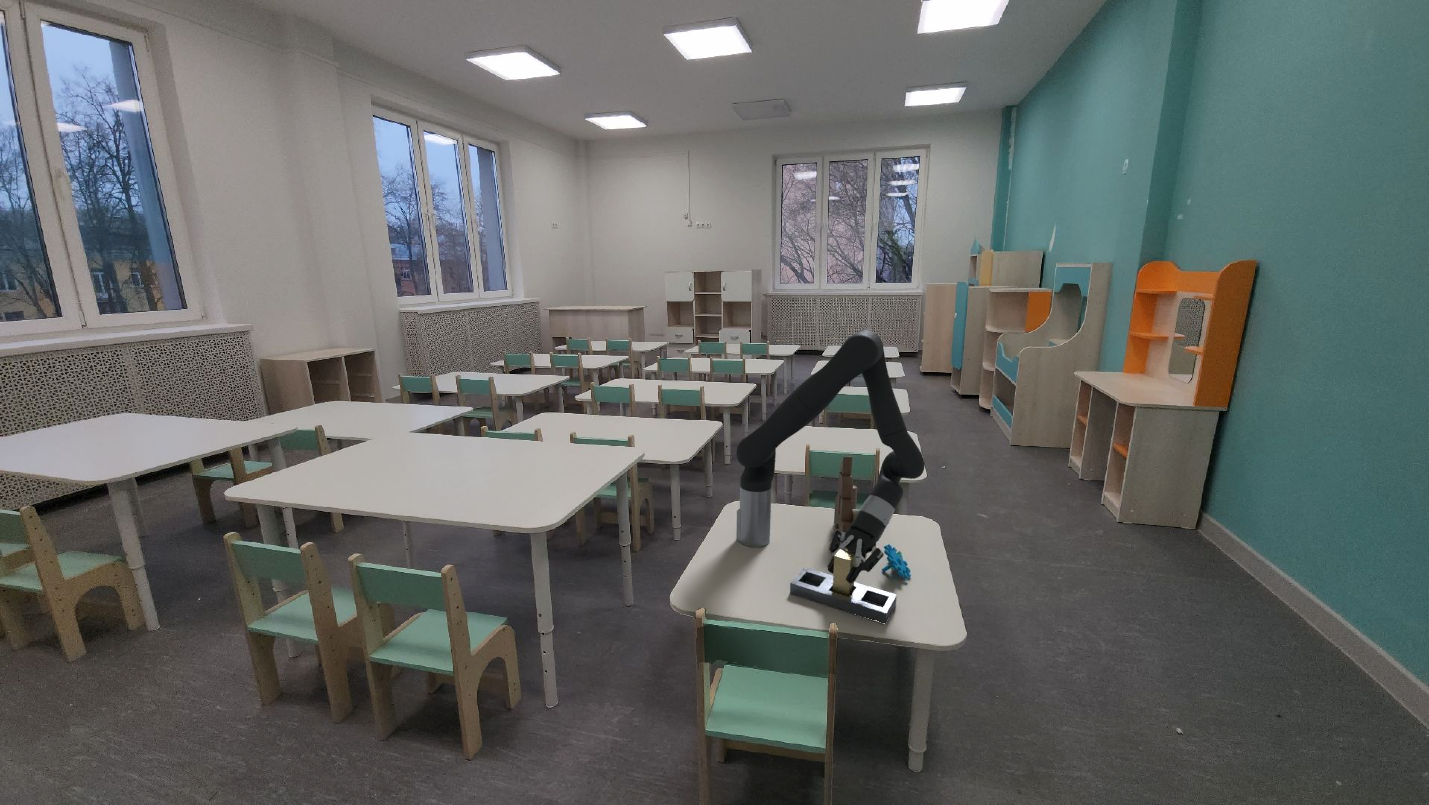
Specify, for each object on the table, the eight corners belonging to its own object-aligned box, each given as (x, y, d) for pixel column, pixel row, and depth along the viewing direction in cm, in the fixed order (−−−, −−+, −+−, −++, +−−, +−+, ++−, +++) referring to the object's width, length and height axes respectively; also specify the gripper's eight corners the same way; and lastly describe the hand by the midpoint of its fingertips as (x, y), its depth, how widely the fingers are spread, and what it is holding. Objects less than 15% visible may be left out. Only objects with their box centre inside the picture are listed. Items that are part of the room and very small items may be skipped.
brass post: (832, 592, 141) (834, 555, 139) (838, 585, 145) (840, 548, 142) (848, 597, 139) (850, 560, 137) (853, 589, 143) (855, 553, 140)
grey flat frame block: (789, 593, 145) (790, 582, 144) (804, 577, 152) (804, 567, 152) (885, 624, 133) (886, 613, 132) (895, 605, 140) (896, 594, 139)
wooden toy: (864, 544, 170) (870, 465, 164) (841, 544, 170) (846, 464, 165) (853, 522, 185) (858, 448, 179) (832, 521, 185) (837, 447, 180)
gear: (910, 582, 148) (884, 549, 150) (891, 593, 150) (866, 561, 152) (916, 567, 157) (892, 537, 160) (898, 578, 160) (875, 548, 162)
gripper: (844, 501, 147) (809, 558, 143) (891, 520, 136) (856, 583, 132) (856, 515, 152) (823, 571, 147) (903, 535, 141) (869, 596, 136)
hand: (839, 576), depth 140 cm, fingers closed on brass post, 5 cm apart
